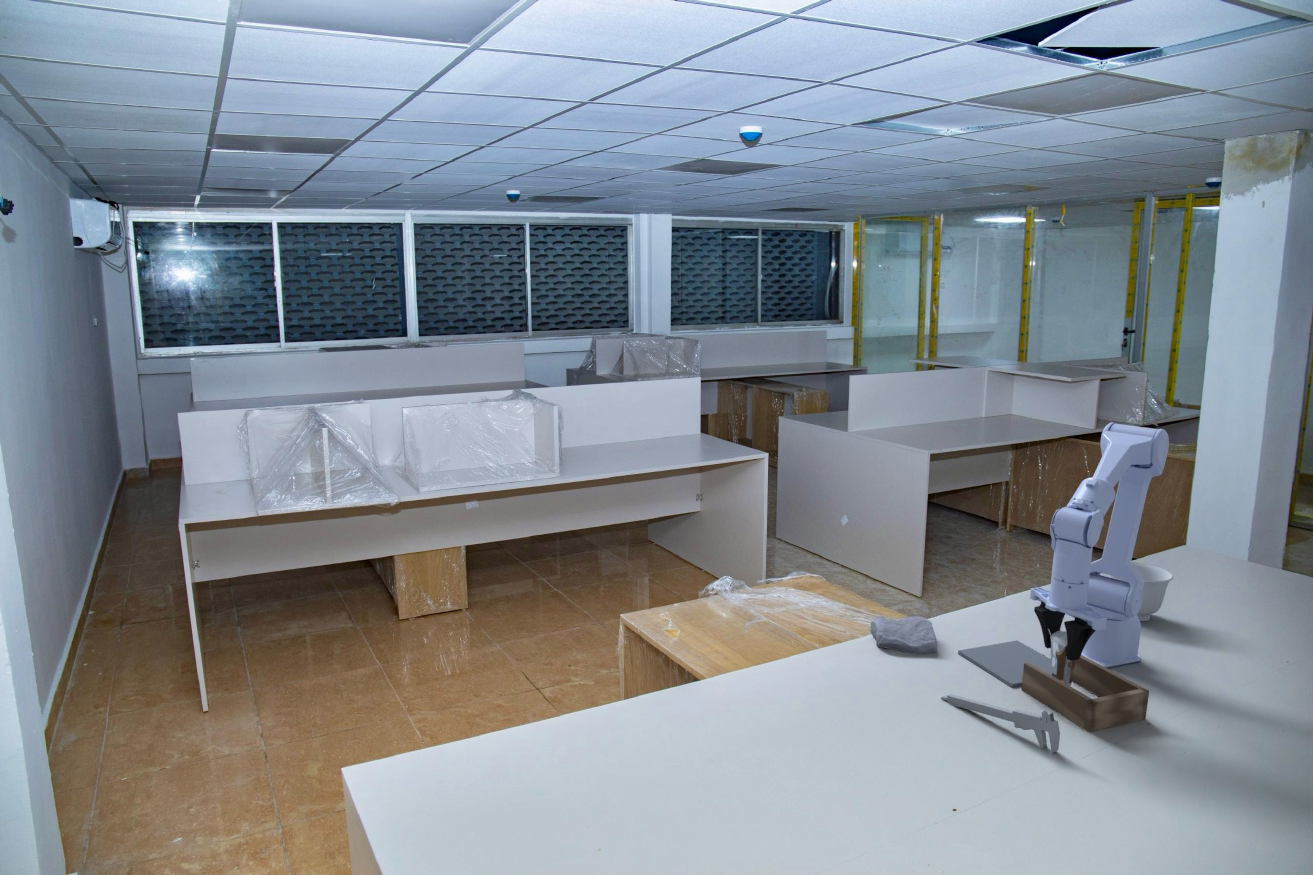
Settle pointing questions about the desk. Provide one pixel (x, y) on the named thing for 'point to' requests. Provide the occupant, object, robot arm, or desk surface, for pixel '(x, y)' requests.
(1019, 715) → the caliper
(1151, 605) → the teacup
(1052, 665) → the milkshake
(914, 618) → the stone block
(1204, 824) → the desk surface
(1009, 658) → the mat
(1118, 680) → the open box
